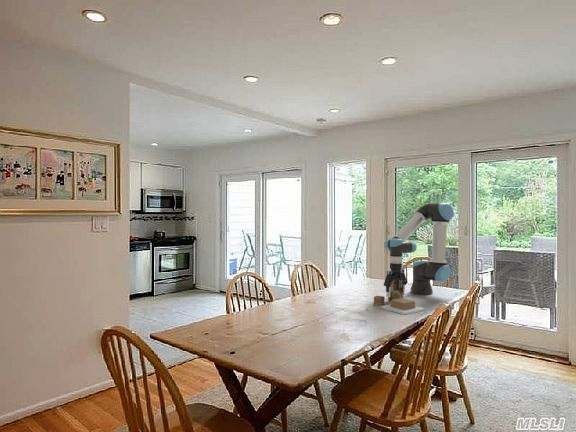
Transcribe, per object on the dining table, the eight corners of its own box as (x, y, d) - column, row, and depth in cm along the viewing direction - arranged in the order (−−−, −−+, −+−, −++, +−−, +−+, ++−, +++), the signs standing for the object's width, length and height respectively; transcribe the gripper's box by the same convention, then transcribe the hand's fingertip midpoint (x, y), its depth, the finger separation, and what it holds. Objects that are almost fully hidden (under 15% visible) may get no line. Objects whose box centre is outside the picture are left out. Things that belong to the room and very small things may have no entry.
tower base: (400, 304, 249) (400, 296, 249) (425, 310, 234) (425, 301, 234) (381, 308, 239) (381, 299, 238) (405, 314, 224) (405, 305, 224)
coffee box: (401, 301, 256) (402, 276, 256) (403, 303, 250) (404, 278, 250) (387, 301, 257) (387, 276, 257) (388, 303, 251) (389, 278, 250)
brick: (376, 303, 251) (377, 295, 251) (384, 304, 248) (384, 296, 248) (373, 304, 247) (373, 296, 247) (381, 306, 244) (381, 297, 244)
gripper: (403, 260, 263) (403, 292, 264) (378, 263, 249) (377, 296, 249) (413, 262, 257) (412, 294, 257) (387, 264, 243) (386, 299, 243)
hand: (395, 295), depth 253 cm, fingers open, 13 cm apart
